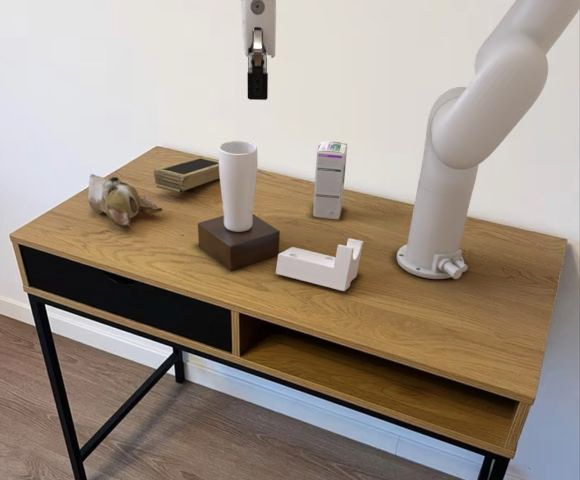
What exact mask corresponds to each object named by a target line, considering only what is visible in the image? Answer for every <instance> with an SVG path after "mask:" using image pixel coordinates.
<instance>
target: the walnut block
mask: <svg viewBox="0 0 580 480" xmlns="http://www.w3.org/2000/svg"><path fill="white" fill-rule="evenodd" d="M280 233H281V231H280V230H279V229H277V228H276V227H274V226H273V225H271V224H269V223H268V222H266V221H264V220H263V219H261V218H260V217H258V216H257V215H256V214H254V213H253V225H252V227H251V228H250V229H249V230H247V231H244V232H234V231H230V230H228V229H227V228H226V227H225V226H224V215H221V216H218V217H214V218H210V219H207V220H204V221H200V222H197V237H198V238H197V239H198V240H197V241H198V247H199V248H200V249H201V250H203V251H204V252H205V253H207V254H208V255H209V256H211V257H212V258H213V259H214V260H215V261H217V262H218V263H219V264H221V265H222V266H223V267H225V268H226V269H227V270H229V271H230V272H232V271H234V270H238V269H242V268H243V267H247V266H250V265H253V264H255V263H258V262H262V261H265V260H268V259H271V258H273V257H276V256H278V254H280V235H281V234H280Z"/></svg>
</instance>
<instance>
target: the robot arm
mask: <svg viewBox="0 0 580 480" xmlns="http://www.w3.org/2000/svg"><path fill="white" fill-rule="evenodd" d="M240 3H241V5H240V7H241V29H242V30H241V31H242V42H243V51H244V55H245V57H247V73H246V74H247V75H246V78H247V81H246V82H247V99H248V100H250V101H251V100H252V101H254V100H255V101H266V100H268V97H269V96H268V95H269V88H268V87H269V85H268V84H269V73H268V57H267V56H270V57H271V59H273V58H275V56H276V42H277V41H276V40H277V39H276V38H277V37H276V34H277V33H276V32H277V0H240ZM579 11H580V0H515V1H514V2H513V3H512V5H511V6H510V8H509V9H508V10H507V12H506V13H505V14H504V16H503V17H502V18H501V20H500V21H499V22H498V23H497V25H496V26H495V28H494V29H493V30H492V31H491V33H490V34H489V35H488V36H487V38H485V40H484V41H483V42H482V44H481V45H480V47H479V49H478V50H477V51H476V52H477V53H476V55H475V58H474V66H473V67H474V74H475V75H474V77H473V78H472V80H471V81H470V82H469V83H468V85H467V86H457V87H453V88H449V89H448V90H445V91H444V92H443V93H442V94H440V96H438V97H437V99H436V100H435V102H434V103H433V104H432V106H431V108H430V111H429V115H428V119H427V125H426V131H425V140H424V146H423V147H424V148H423V154H422V160H421V167H420V171H419V172H420V173H419V178H418V182H417V188H416V193H415V199H414V204H413V210H412V211H413V212H412V216H411V220H410V226H409V231H408V232H409V233H408V238H407V243H406V244H404V245H402V246H401V247H399V249H398V250H397V253H396V262H397V264H398V266H400V267H401V268H402V269H403V270H404V271H406V272H407V273H409V274H412V275H415V276H417V277H419V278H420V277H421V278H424V279H429V280H431V279H432V280H445V279H450V278H452V279H454V280H458V279H459V278H461V276H462V274H463V273H465V272H467V270H468V268H469V267H468V265H467V264H466V263H465V259H464V258H463V256H462V254H463V250H462V249H461V248H460V246H461V241H462V237H463V233H464V229H465V226H466V225H465V224H466V221H467V216H468V212H469V209H470V204H471V200H472V196H473V191H474V189H475V188H474V187H475V184H476V180H477V176H478V170H479V166H480V164H481V163H483V162H484V161H485V160H487V159H488V158H489V157H490V156H491V155H492V154H493V152H495V151H496V149H497V148H498V147H499V146H500V145H501V144H502V143H503V142H504V140H505V139H506V138H507V137H508V136H509V134H510V133H511V132H512V131H513V129H514V128H515V127H516V126H517V125H518V124H519V122H520V121H521V120H522V119H523V118H524V116H525V115H526V114H527V113H528V112H529V111H530V109H531V108H532V107H533V106H534V104H535V103H536V101H538V99H539V97H540V96H541V94H542V92H543V90H544V88H545V85H546V83H547V80H548V76H549V62H548V58H547V54H548V53H549V51H550V50H551V48H553V46H554V45H555V44H556V42H557V41H558V40H559V39H560V38H561V35H563V33H564V31H565V30H566V28H568V26H569V25H570V24H571V22H572V21H573V19H574V18H575V17H576V15H577V13H578V12H579Z"/></svg>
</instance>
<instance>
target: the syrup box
mask: <svg viewBox="0 0 580 480" xmlns="http://www.w3.org/2000/svg"><path fill="white" fill-rule="evenodd" d="M347 153H348V143H344V142H338V141H323V140H321V141H320V143H319V145H318V147H317V150H316V161H315V174H314V190H313V191H314V193H313V209H312V216H313V217H315V218H320V219H328V220H339V219H340V217H341V214H342V209H343V202H344V201H343V200H344V190H345V178H346V165H347V155H348V154H347Z"/></svg>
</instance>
